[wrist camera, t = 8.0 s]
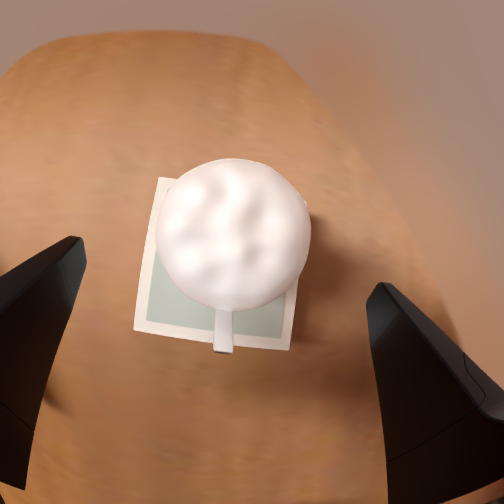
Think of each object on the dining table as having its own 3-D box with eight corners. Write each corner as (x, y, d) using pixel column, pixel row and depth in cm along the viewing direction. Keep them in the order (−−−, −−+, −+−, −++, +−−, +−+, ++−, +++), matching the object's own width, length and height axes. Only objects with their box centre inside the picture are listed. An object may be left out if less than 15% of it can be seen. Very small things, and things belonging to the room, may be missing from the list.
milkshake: (174, 307, 16) (121, 335, 6) (189, 212, 16) (166, 115, 7) (255, 318, 16) (319, 362, 6) (268, 225, 17) (340, 148, 7)
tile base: (276, 341, 19) (289, 350, 16) (144, 323, 18) (132, 330, 15) (292, 212, 21) (307, 200, 18) (165, 192, 20) (158, 176, 16)
